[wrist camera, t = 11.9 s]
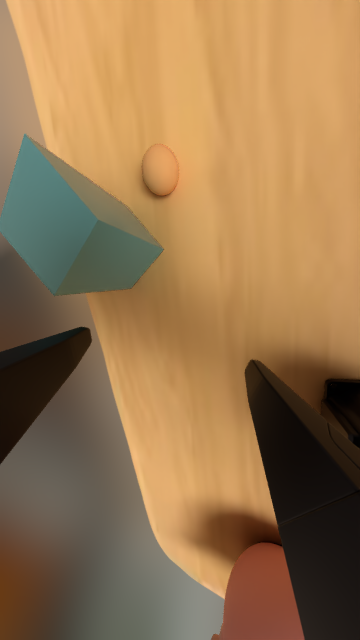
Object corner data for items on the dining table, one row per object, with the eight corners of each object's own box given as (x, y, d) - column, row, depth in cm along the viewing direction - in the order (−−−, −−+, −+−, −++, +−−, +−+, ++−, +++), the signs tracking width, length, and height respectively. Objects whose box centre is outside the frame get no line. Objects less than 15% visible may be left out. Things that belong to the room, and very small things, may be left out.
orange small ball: (180, 155, 15) (167, 122, 12) (185, 195, 16) (174, 174, 12) (149, 169, 16) (130, 142, 13) (155, 206, 17) (138, 189, 14)
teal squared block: (163, 249, 18) (98, 219, 9) (130, 288, 20) (54, 295, 11) (126, 205, 18) (24, 133, 9) (98, 250, 20) (-3, 228, 11)
